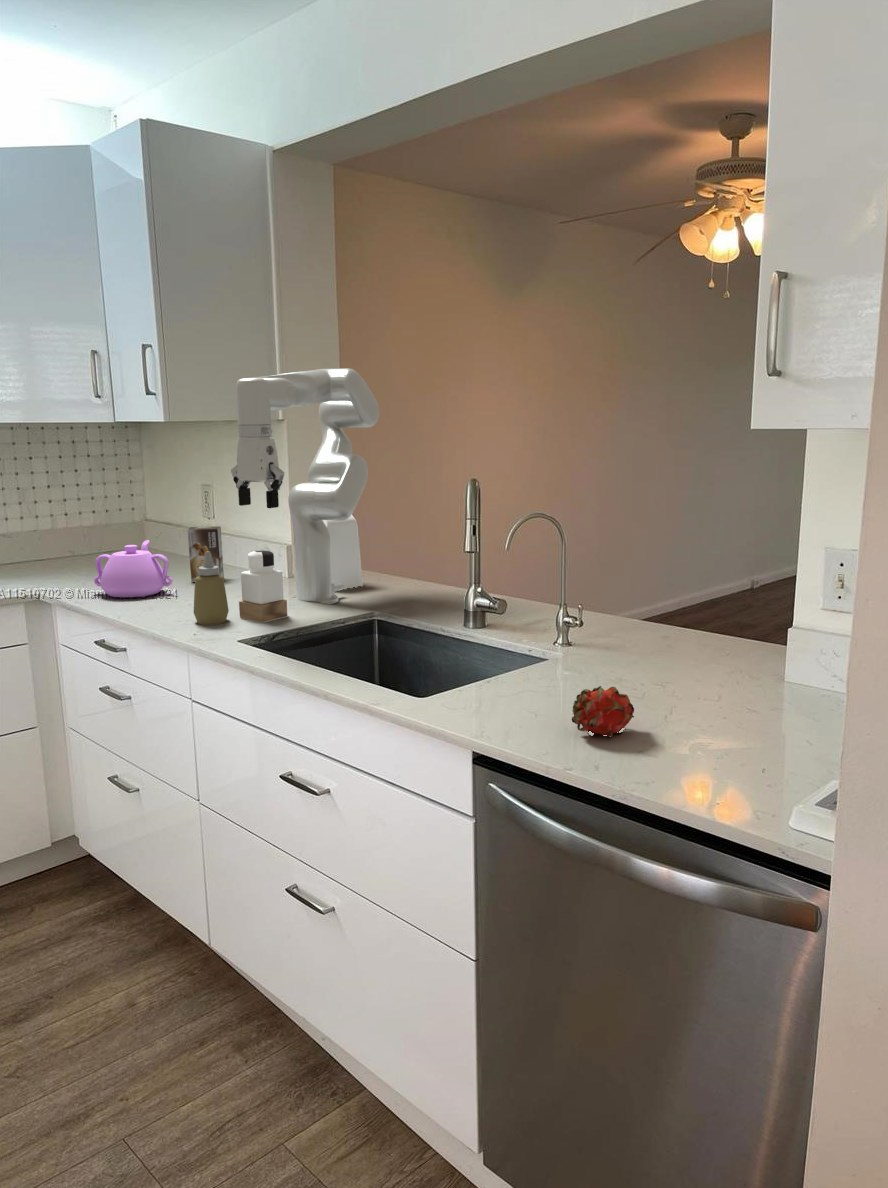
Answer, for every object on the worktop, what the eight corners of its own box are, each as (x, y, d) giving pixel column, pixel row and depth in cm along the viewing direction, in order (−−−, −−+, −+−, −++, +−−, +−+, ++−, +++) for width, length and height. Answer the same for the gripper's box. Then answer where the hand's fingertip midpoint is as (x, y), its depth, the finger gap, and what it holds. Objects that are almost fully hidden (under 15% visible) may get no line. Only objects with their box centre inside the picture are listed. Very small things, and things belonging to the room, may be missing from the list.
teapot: (187, 585, 267) (184, 538, 264) (163, 600, 246) (160, 550, 243) (113, 585, 267) (109, 538, 264) (82, 600, 246) (78, 550, 243)
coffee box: (225, 578, 277) (222, 525, 274) (221, 582, 271) (218, 528, 267) (194, 579, 276) (191, 526, 273) (190, 583, 270) (186, 529, 267)
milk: (328, 592, 256) (325, 499, 250) (305, 586, 264) (302, 496, 259) (362, 586, 264) (360, 496, 258) (339, 580, 272) (336, 493, 267)
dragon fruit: (565, 748, 143) (624, 745, 148) (596, 731, 136) (657, 729, 142) (552, 697, 146) (611, 696, 152) (583, 677, 139) (643, 677, 145)
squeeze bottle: (194, 631, 211) (189, 555, 208) (194, 624, 219) (189, 550, 215) (230, 629, 213) (226, 553, 210) (228, 621, 221) (224, 548, 217)
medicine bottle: (264, 596, 224) (262, 548, 222) (284, 599, 220) (282, 550, 217) (241, 601, 219) (239, 551, 216) (261, 605, 214) (258, 554, 212)
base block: (265, 611, 226) (264, 595, 225) (287, 616, 221) (286, 599, 220) (239, 617, 219) (239, 601, 218) (262, 622, 215) (261, 605, 214)
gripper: (293, 432, 209) (296, 507, 212) (242, 431, 219) (246, 502, 223) (268, 433, 203) (271, 510, 207) (218, 432, 213) (222, 505, 217)
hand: (258, 506), depth 215 cm, fingers open, 9 cm apart
